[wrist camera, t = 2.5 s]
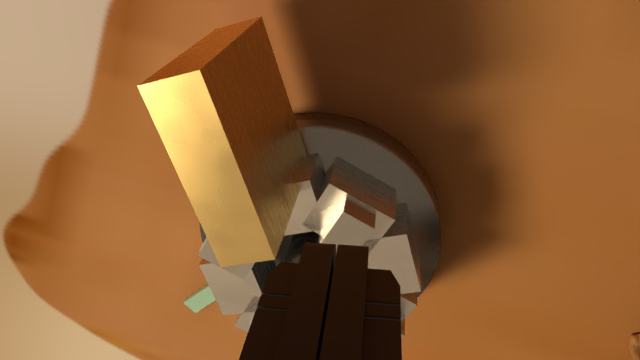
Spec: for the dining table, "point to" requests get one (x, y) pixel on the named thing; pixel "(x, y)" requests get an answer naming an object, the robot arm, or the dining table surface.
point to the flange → (382, 163)
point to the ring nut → (265, 172)
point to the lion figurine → (635, 346)
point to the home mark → (200, 299)
